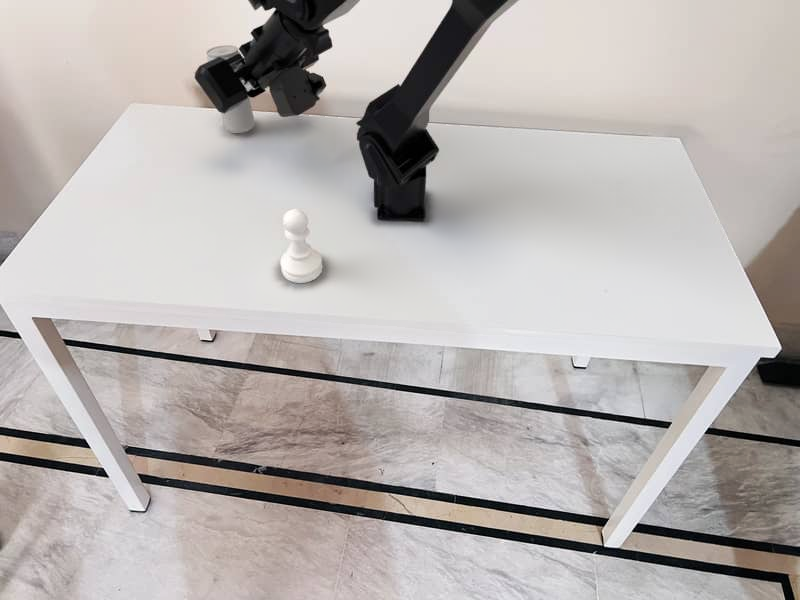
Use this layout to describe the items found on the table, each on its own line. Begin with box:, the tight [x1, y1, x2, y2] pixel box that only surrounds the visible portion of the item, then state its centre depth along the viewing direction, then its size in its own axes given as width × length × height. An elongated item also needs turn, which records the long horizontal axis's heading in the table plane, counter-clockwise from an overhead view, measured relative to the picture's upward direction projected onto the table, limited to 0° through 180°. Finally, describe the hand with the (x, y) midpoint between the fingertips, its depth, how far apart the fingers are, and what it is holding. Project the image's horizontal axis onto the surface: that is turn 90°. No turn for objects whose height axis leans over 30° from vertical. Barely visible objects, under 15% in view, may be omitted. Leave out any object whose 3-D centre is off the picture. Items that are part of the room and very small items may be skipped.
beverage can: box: [206, 44, 256, 134], centre depth 93 cm, size 5×5×12 cm
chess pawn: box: [280, 208, 324, 284], centre depth 72 cm, size 5×5×9 cm
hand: (238, 91), depth 91 cm, fingers closed
